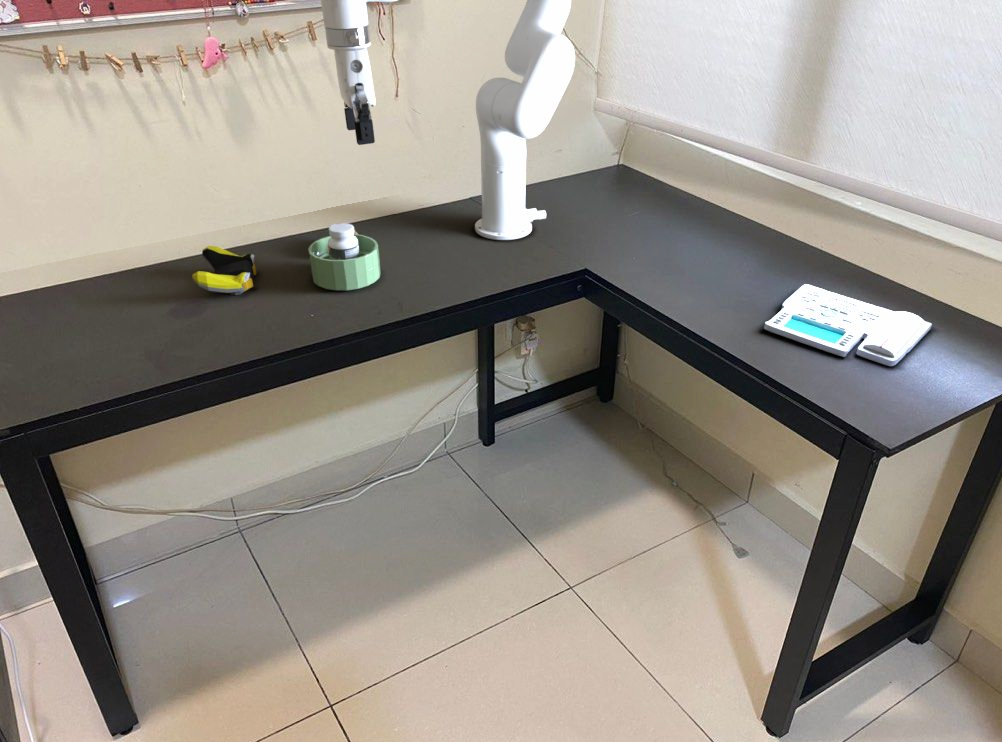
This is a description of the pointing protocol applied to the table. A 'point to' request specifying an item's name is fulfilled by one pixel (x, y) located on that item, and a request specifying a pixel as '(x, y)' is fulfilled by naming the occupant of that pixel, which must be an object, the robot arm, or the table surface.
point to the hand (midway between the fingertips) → (360, 136)
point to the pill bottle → (342, 242)
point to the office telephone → (847, 325)
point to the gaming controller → (226, 272)
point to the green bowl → (345, 265)
